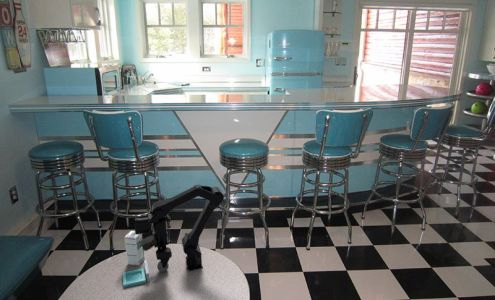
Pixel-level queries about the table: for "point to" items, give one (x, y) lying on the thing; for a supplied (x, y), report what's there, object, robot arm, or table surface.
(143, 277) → the coaster
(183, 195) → the robot arm
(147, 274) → the gray flat board
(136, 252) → the syrup box
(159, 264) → the ball
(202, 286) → the table surface
